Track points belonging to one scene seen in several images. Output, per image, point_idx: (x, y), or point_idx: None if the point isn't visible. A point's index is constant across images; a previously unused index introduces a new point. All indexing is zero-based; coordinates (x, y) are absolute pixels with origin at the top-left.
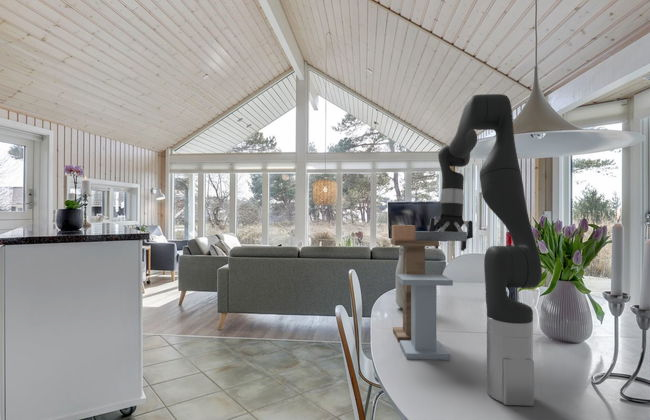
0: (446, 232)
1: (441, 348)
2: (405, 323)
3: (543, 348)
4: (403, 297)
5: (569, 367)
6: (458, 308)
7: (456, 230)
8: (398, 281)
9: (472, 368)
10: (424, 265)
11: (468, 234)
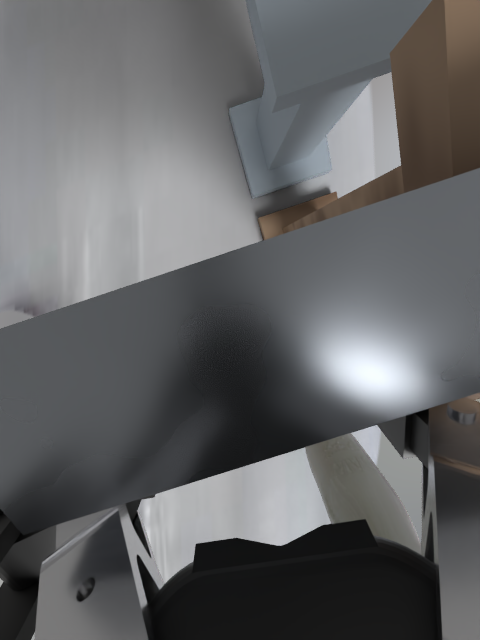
0: (406, 193)
1: (246, 143)
2: None
3: (57, 263)
4: None
5: (10, 158)
6: (221, 475)
7: (174, 593)
8: (378, 471)
9: (185, 76)
10: (384, 174)
11: (27, 593)
